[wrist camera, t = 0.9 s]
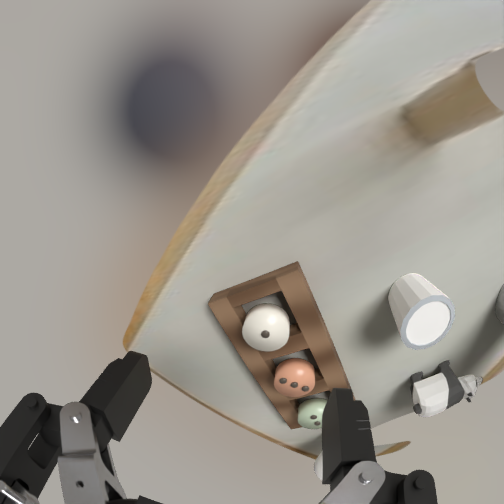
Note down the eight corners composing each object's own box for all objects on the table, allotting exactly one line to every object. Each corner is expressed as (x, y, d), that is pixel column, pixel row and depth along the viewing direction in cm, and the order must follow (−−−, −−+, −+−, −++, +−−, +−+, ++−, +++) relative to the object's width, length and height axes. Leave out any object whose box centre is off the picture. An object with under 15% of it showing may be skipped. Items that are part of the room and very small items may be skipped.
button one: (296, 332, 30) (296, 345, 28) (257, 344, 32) (254, 357, 30) (279, 297, 29) (277, 308, 27) (238, 311, 31) (233, 323, 28)
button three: (319, 379, 32) (320, 392, 30) (284, 388, 34) (283, 401, 32) (306, 353, 31) (307, 366, 29) (269, 364, 33) (267, 377, 30)
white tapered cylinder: (375, 313, 31) (390, 347, 25) (395, 262, 29) (417, 289, 22) (418, 320, 31) (437, 352, 24) (439, 274, 28) (465, 300, 22)
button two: (336, 413, 34) (337, 425, 32) (304, 420, 36) (304, 432, 34) (327, 394, 33) (327, 407, 31) (293, 403, 35) (292, 415, 32)
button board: (355, 401, 37) (357, 412, 34) (291, 417, 40) (291, 429, 37) (297, 261, 31) (297, 269, 28) (213, 293, 34) (207, 303, 31)
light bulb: (332, 417, 39) (334, 471, 28) (358, 427, 39) (363, 477, 29) (306, 433, 41) (304, 483, 31) (332, 442, 41) (333, 489, 31)
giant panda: (404, 393, 35) (416, 429, 28) (405, 375, 34) (419, 413, 26) (467, 367, 32) (484, 399, 25) (470, 348, 31) (491, 380, 23)
